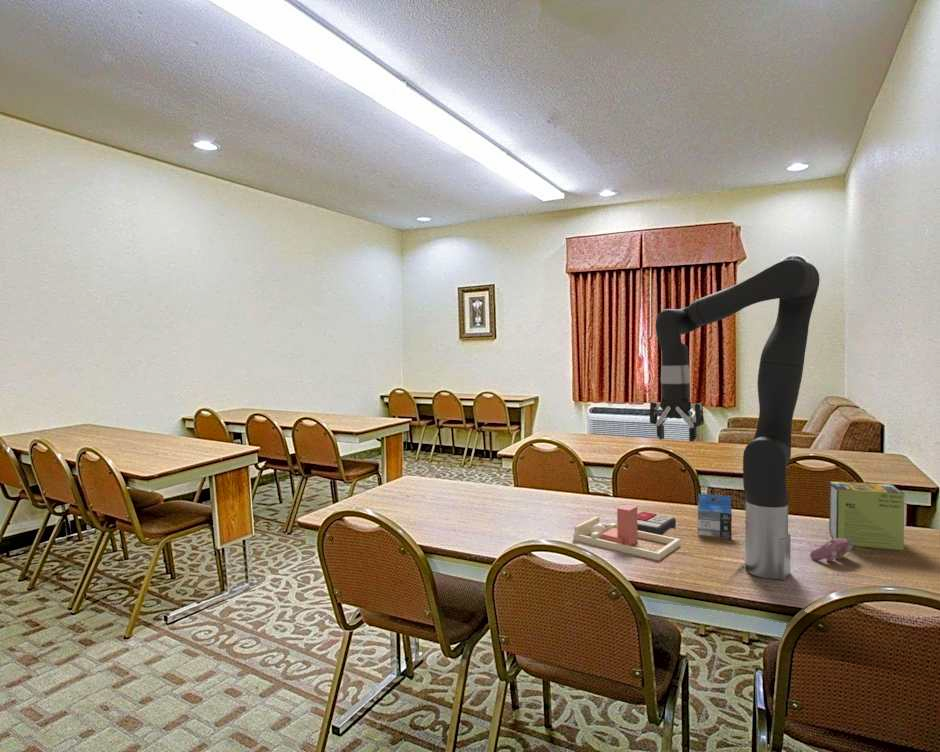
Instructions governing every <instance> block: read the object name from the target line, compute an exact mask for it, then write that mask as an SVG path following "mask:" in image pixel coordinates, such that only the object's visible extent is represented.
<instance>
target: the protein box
mask: <svg viewBox="0 0 940 752" xmlns="http://www.w3.org/2000/svg"><path fill="white" fill-rule="evenodd" d="M905 495H906V494H905V493H904V492H903V491H902V490H900V489H898V488H897V487H896V486H894V485H892V484H888V483H870V482H869V483H868V482H845V481H829V521H828V523H829V525H828V529H829V532H830V533H829V532H828V533H829V535H830V534H831V535H832V536H831V535H830V536H831V537H832V539H833V538H841V539H843V538H844V539H845V540H848V541H850V542H851V543H852V544H853V547H861V548H862V547H863V548H872V549H873V548H874V549H884V550H886V549H887V550H897V551H904V547H905V544H904V542H905V538H904V537H905V536H904V534H905Z"/></svg>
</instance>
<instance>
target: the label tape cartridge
mask: <svg viewBox="0 0 940 752" xmlns="http://www.w3.org/2000/svg"><path fill="white" fill-rule="evenodd" d="M697 495H698V499H697V500H698V502H697V535H698V536H706V537H714V538H720V539H723V540H728V541H729V540H730V541H732V523H733V522H732V521H733V520H732V518H733V517H732V515H733V514H732V505H731V497H732V496H731V495H722V494H721V495H720V494H707V493H698V494H697ZM713 499H715V500H713ZM717 500H719V501H717Z"/></svg>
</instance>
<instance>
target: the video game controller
mask: <svg viewBox="0 0 940 752" xmlns="http://www.w3.org/2000/svg"><path fill="white" fill-rule="evenodd" d="M853 547H854V546H853V544H852V543H851V542H850V541H848V540H845V539H844V538H843V539H841V538H833V537H832V539H830V540H829V541H827V542H826V543H823V544H822V545H821V546H819V547H818V548H816V549H814V550H812V551H811V552H810V554H809V555H810V558H811V559H812V560H813V561H820V560H824V559H826V560H827V561H828V562H832V561H834V560H835V559H837V560H840V559H843V556H845V555H846V554H847V553H849V552H850V551H851V550H852V549H853Z"/></svg>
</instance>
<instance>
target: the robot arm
mask: <svg viewBox="0 0 940 752" xmlns="http://www.w3.org/2000/svg"><path fill="white" fill-rule="evenodd" d="M817 269H818V268H816V266H814V265H813V264H812V263H809V262H807V261H803V260H799V259H795V258H786V259H782V260H780V261H777V262H776V263H774V264H772V265H770V266H769V267H766V268H764V269H763V270H761V271H760V272H757V273H756V274H754V275H753V276H751V277H749V278H747V279H745V280H743V281H740V282H739V283H737V284H733V285H732V286H730V287H727V288H725V289H722V290H719V291H717V292H714V293H712V294H709V295H706V296H704V297H701V298H698V299H696V300H694V301H693V302H691V303H690V304H689V306H685V307H682V308H679V309H677V308H666V309H663V310H662V311H660V312H659V313H658V315H657V317H656V320H655V331H656V337H657V340H658V343H659V347H660V351H661V369H660V395H661V398H660V399H661V401H660V402H657V401H653V402H650V404H649V423H650V424H653V425H655V426H656V436H657V438H658V440H663V439H665V425H664V424H665V422H666V421H667V420H668V419H679V420H680V419H683V421H684V422H686V424H687V425H688V427H689V428H688V439H689V442H692V443H693V442H694V441H695V440H697V437H698V435H697V433H698V432H697V431H698V430H697V428H698V427H700V426H703V425H704V424H705V420H704V407H703V406H704V405H703V404H702V403H701V402H699V403H692V402H691V374H690V373H691V372H690V365H689V364H690V363H689V362H690V360H689V348H688V346H687V345H686V343H685V344H684V343H683V342H682V338H681V335H686V334H688V333H691V332H693V331H695V330H697V329H699V328H701V327H703V326H706V325H710V324H713V323H715V322H717V321H718V322H719V321H720V320H721V321H722V320H724V319H727V318H728V317H732V316H733V315H734V314H736V313H738V312H739V311H741V310H743V309H745V308H747V307H750V306H752V305H755V304H757V303H760V302H761V303H762V302H765V301H766V302H767V301H770V300H777V299H779V300H778V309H777V310H778V311H777V316H776V320H775V324H774V327H773V328H772V331H771V332H770V334H769V337H768V339H766V342H765V344H764V346H763V348H762V352H761V354H760V360H759V367H758V372H757V373H758V374H757V397H758V403H759V404H758V406H759V413H758V422H757V425H756V429H755V434H754V437H753V440H752V441H750V442H749V443H748V444H746V447H745V448H744V450H743V454H742V455H743V456H742V479H743V480H742V482H743V483H742V484H743V491H744V494H745V528H744V530H745V532H744V533H745V549H744V550H745V552H744V553H745V559H744V561H745V566H744V567H745V571H746V572H747V573H749V574H750V575H753V576H754V577H755V576H756V577H758V578H763V579H770V580H780V581H781V580H783V581H785V580H786V578H787V577H788V576H789V575H790V574H791V534H790V533H789V493H788V490H787V466H788V465H789V463H790V460H791V458H792V429H793V428H792V426H793V425H792V424H793V418H794V413H795V409H796V406H797V401H798V397H799V393H800V388H801V384H802V377H803V373H804V367H805V366H804V364H805V356H806V350H807V343H808V335H809V329H810V328H809V326H810V320H811V317H812V313H813V310H814V305H815V302H816V298H817V294H818V291H819V286H820V281H821V279H820V273H819V271H818V270H817ZM660 409H661V411H663V412H661V413H662V414H661V415H660V416H659V418H658V412H659V410H660ZM691 410H693V412H695V413H694V414H695V419H694V417H693V415H692V414H691V413H690V411H691Z"/></svg>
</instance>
